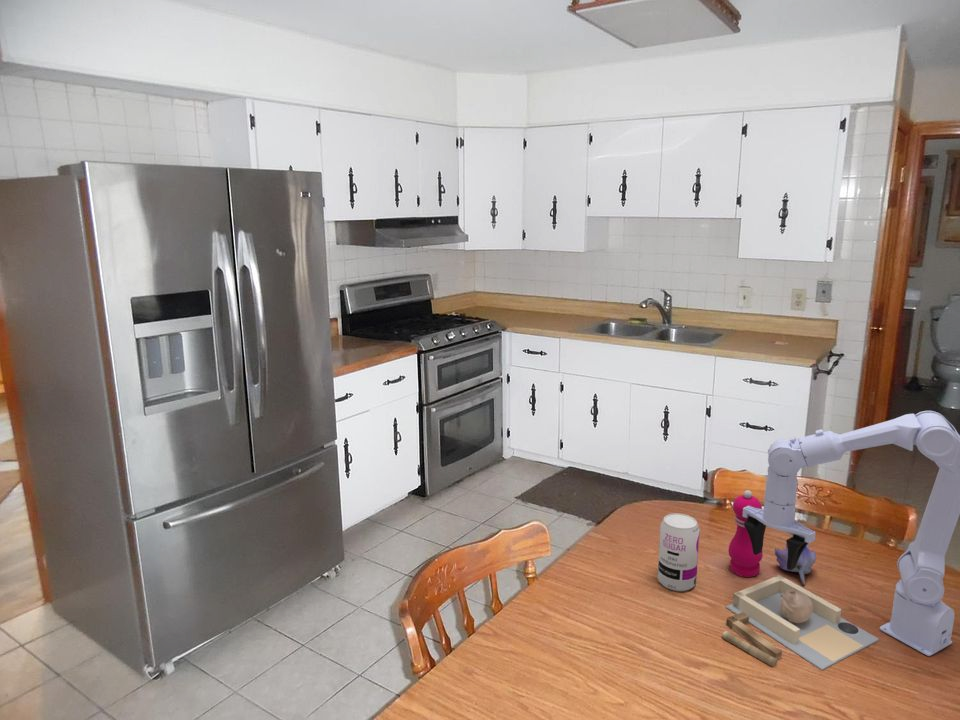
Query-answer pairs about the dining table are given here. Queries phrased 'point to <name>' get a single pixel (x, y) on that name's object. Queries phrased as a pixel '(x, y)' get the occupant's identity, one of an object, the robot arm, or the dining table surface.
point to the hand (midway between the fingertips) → (774, 560)
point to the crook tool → (752, 635)
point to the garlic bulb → (796, 606)
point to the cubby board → (812, 639)
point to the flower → (802, 565)
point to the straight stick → (749, 648)
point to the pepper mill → (744, 540)
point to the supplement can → (678, 552)
